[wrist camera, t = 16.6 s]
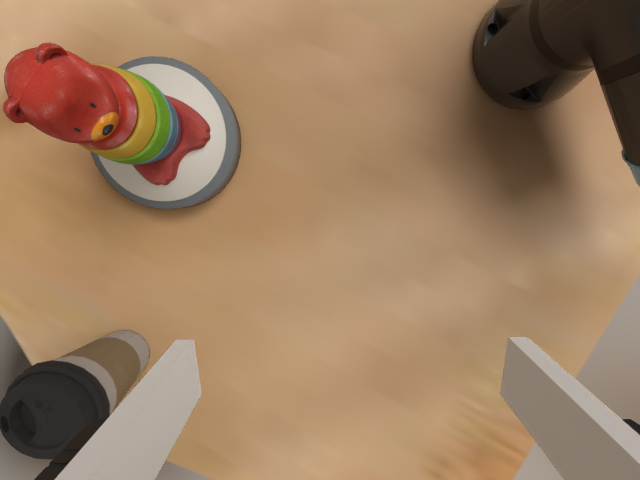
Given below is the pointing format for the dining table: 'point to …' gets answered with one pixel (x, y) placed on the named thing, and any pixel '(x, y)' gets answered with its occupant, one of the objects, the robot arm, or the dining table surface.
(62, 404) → the coffee cup
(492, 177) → the dining table surface
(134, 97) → the stacking bear
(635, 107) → the robot arm
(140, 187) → the pedestal
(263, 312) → the dining table surface
